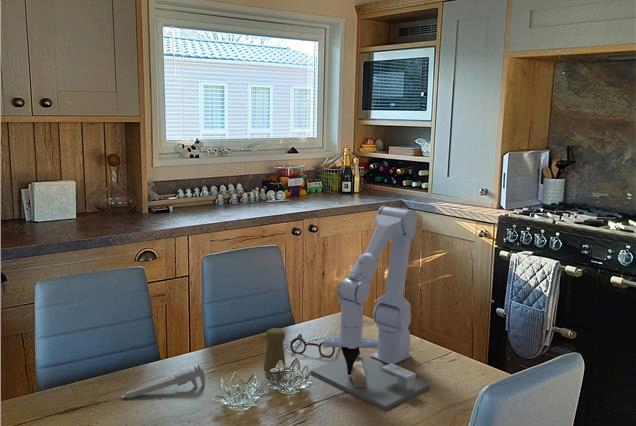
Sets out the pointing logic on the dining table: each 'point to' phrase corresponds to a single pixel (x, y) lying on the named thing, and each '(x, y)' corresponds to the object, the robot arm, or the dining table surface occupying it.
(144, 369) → the dining table surface
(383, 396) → the charcoal board
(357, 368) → the wooden link
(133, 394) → the caliper
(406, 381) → the block
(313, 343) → the glasses
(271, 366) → the cork
